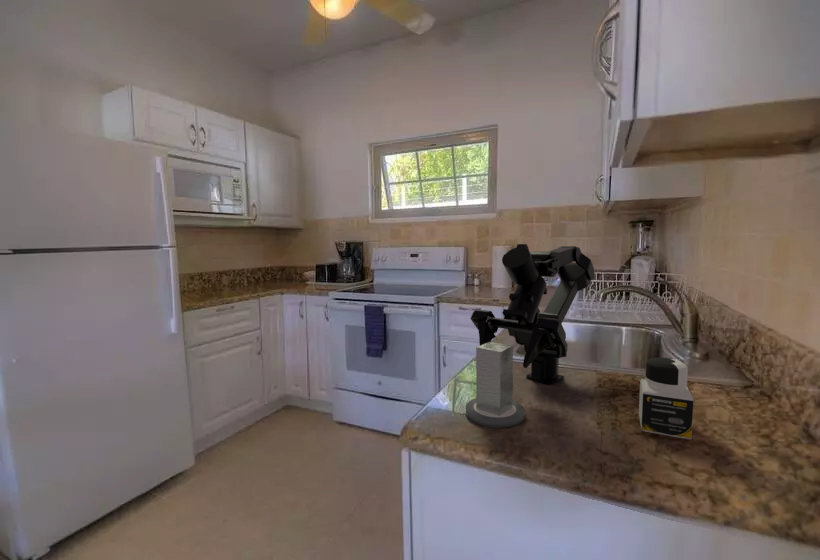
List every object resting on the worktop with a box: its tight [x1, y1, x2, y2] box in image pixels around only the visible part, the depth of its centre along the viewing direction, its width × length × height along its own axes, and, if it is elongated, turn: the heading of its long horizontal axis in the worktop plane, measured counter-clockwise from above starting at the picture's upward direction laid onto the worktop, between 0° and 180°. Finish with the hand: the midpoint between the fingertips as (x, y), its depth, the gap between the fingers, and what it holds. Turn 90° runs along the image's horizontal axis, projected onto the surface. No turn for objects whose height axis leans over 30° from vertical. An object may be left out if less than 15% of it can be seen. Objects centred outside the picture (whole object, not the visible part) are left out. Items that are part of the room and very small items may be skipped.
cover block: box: [475, 341, 514, 416], centre depth 73 cm, size 5×5×12 cm
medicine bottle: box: [638, 357, 695, 440], centre depth 67 cm, size 7×7×12 cm
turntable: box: [465, 397, 525, 429], centre depth 74 cm, size 11×11×1 cm
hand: (502, 362), depth 75 cm, fingers open, 9 cm apart
